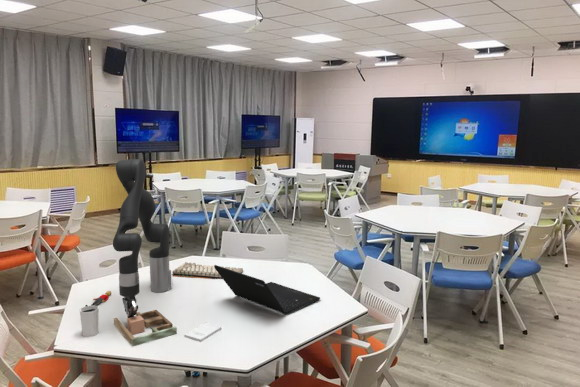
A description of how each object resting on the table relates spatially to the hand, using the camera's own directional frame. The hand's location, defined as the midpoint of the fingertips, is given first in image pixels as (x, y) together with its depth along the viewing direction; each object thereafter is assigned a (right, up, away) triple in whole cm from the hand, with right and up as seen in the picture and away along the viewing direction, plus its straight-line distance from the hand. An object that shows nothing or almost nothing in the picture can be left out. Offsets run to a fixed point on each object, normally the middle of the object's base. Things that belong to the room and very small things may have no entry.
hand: (131, 323), depth 177 cm
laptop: (+54, +1, +26) cm, 60 cm away
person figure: (-23, +2, +25) cm, 34 cm away
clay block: (+3, -2, -4) cm, 5 cm away
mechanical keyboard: (+19, +7, +67) cm, 70 cm away
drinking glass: (-14, -2, -6) cm, 15 cm away
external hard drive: (+30, -3, -5) cm, 31 cm away
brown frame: (+6, -2, -2) cm, 7 cm away
